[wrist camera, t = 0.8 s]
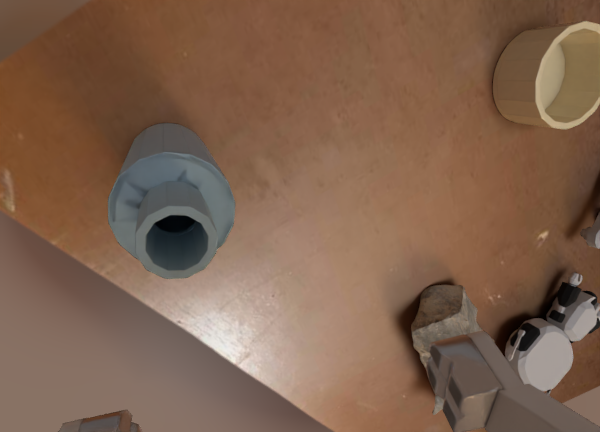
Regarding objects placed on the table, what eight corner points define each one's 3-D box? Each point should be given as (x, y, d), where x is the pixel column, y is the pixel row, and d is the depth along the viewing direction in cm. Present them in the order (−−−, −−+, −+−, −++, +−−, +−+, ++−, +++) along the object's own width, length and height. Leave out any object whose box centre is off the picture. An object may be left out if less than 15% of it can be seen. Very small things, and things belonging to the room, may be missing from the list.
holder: (507, 19, 37) (555, 12, 32) (575, 37, 40) (627, 32, 35) (482, 118, 39) (523, 123, 35) (547, 127, 42) (592, 133, 38)
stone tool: (462, 461, 47) (420, 355, 37) (425, 427, 51) (380, 326, 42) (523, 390, 50) (499, 277, 41) (484, 365, 55) (454, 259, 46)
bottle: (128, 118, 29) (92, 165, 14) (210, 126, 31) (256, 175, 16) (128, 196, 31) (96, 312, 16) (206, 199, 33) (244, 304, 18)
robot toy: (555, 258, 51) (480, 345, 50) (591, 271, 47) (510, 366, 46) (585, 306, 56) (518, 386, 56) (619, 322, 52) (548, 408, 51)
